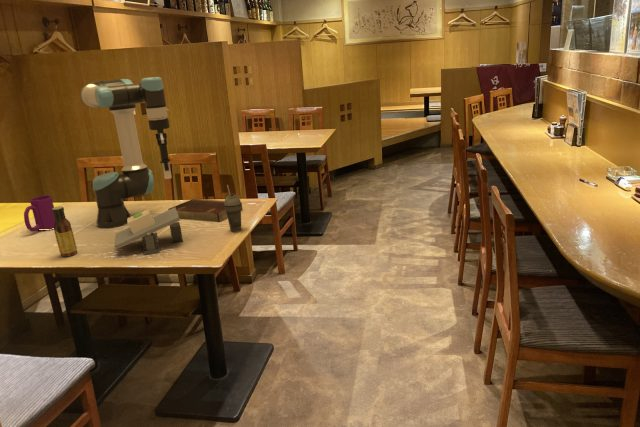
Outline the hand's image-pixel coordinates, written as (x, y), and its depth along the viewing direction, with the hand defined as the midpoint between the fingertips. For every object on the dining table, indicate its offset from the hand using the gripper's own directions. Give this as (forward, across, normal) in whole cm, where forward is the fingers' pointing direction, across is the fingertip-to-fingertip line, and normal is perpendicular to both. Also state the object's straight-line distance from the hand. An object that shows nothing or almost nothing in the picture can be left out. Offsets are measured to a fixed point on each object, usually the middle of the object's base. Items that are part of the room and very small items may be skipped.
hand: (168, 178), depth 204 cm
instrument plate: (+19, 0, +11) cm, 22 cm away
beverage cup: (+27, 0, -24) cm, 36 cm away
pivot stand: (+26, 0, +6) cm, 27 cm away
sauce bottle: (+27, +6, +42) cm, 50 cm away
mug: (+27, +49, +58) cm, 80 cm away
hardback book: (+27, +32, -16) cm, 45 cm away
